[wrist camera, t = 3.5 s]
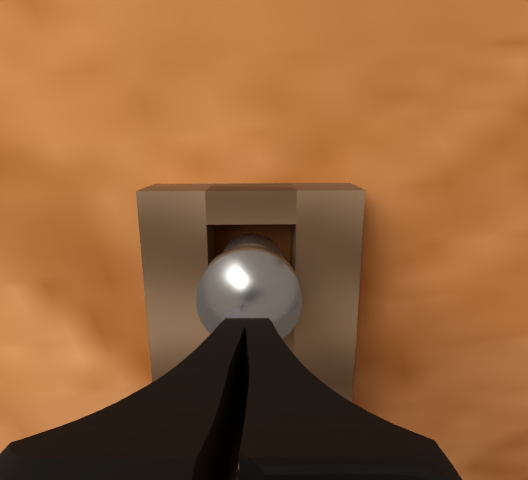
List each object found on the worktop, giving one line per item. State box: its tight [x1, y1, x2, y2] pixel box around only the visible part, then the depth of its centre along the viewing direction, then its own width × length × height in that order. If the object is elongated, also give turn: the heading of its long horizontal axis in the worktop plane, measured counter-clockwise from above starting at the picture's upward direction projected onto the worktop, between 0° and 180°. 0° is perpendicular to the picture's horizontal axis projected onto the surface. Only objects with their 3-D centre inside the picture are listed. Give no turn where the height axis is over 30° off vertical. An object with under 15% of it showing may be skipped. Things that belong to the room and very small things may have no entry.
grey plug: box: [196, 233, 302, 339], centre depth 16 cm, size 4×4×4 cm
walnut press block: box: [136, 183, 365, 403], centre depth 21 cm, size 20×10×3 cm, turn 0°
